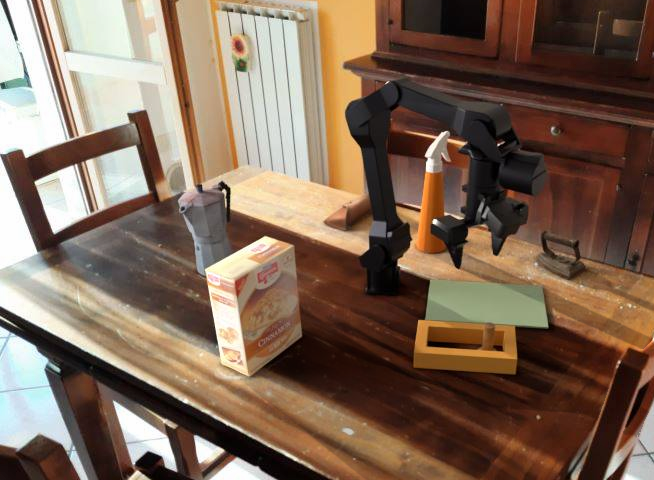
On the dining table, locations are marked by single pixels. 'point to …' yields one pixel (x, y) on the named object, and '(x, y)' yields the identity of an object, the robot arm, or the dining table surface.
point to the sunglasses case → (349, 213)
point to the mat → (487, 303)
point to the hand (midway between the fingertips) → (476, 261)
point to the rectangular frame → (464, 357)
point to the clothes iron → (557, 262)
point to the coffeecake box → (255, 304)
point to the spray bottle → (433, 195)
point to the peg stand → (488, 337)
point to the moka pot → (208, 223)
